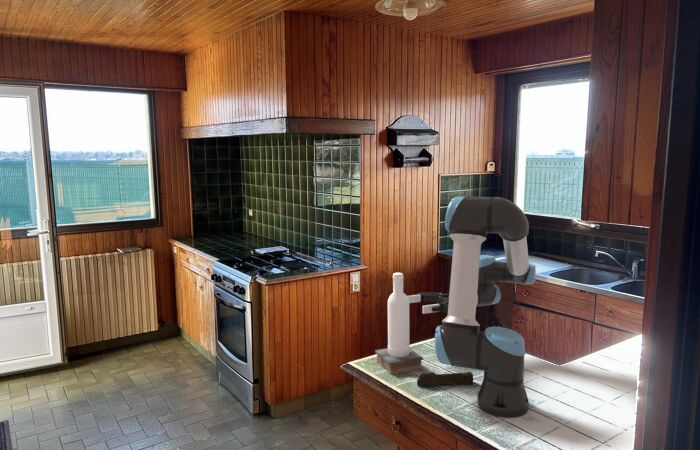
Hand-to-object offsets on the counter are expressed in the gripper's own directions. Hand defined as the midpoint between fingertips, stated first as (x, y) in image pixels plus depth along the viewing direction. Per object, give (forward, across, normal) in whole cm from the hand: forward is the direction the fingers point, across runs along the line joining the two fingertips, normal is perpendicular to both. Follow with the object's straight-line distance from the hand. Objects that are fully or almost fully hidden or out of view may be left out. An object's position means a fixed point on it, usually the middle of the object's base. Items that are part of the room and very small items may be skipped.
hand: (413, 304), depth 185 cm
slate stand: (+6, 0, -22) cm, 23 cm away
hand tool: (-1, -21, -23) cm, 31 cm away
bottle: (+6, 0, -18) cm, 19 cm away
